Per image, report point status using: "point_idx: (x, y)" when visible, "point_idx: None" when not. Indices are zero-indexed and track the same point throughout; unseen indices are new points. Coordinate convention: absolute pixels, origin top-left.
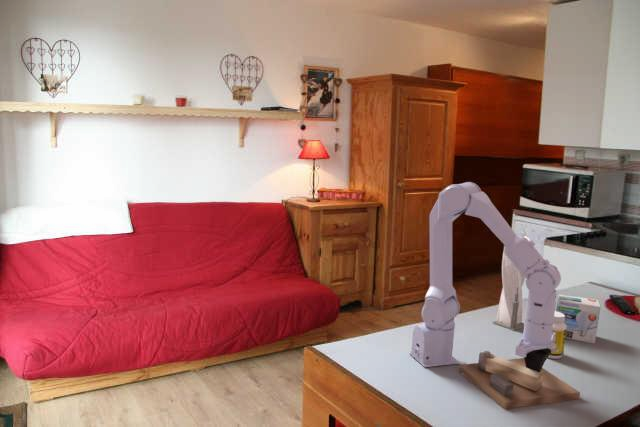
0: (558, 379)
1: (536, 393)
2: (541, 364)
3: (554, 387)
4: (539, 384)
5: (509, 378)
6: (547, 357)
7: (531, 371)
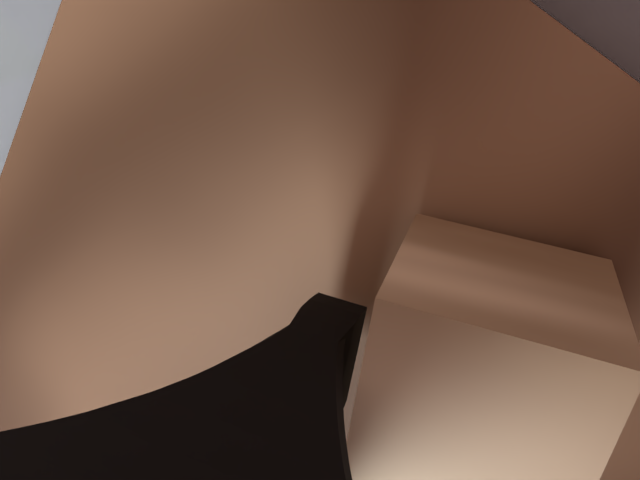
0: (56, 83)
1: (634, 233)
2: (276, 433)
3: (284, 73)
4: (492, 256)
5: None
6: (29, 430)
7: (418, 459)
